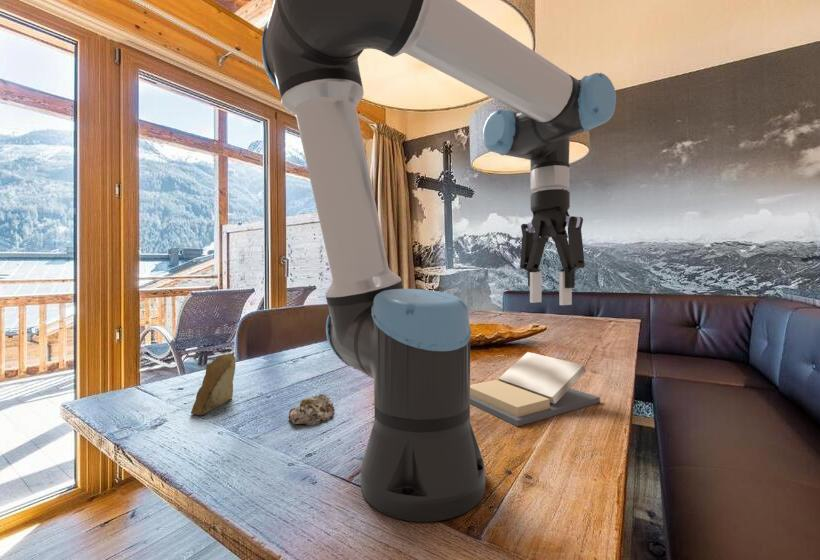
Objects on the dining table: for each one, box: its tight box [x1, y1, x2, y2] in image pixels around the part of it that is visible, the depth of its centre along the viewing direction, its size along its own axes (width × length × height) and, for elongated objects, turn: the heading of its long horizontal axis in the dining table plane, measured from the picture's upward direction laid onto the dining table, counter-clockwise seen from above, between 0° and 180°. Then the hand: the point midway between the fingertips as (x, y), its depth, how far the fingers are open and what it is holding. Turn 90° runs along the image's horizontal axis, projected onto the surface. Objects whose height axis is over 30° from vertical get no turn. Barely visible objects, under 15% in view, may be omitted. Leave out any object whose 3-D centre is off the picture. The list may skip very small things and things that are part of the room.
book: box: [497, 351, 587, 404], centre depth 76 cm, size 10×14×2 cm
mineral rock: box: [287, 394, 335, 426], centre depth 68 cm, size 11×4×8 cm
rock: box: [190, 353, 237, 416], centre depth 73 cm, size 11×9×10 cm
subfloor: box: [470, 379, 601, 427], centre depth 74 cm, size 22×16×3 cm
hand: (550, 303), depth 77 cm, fingers open, 7 cm apart
